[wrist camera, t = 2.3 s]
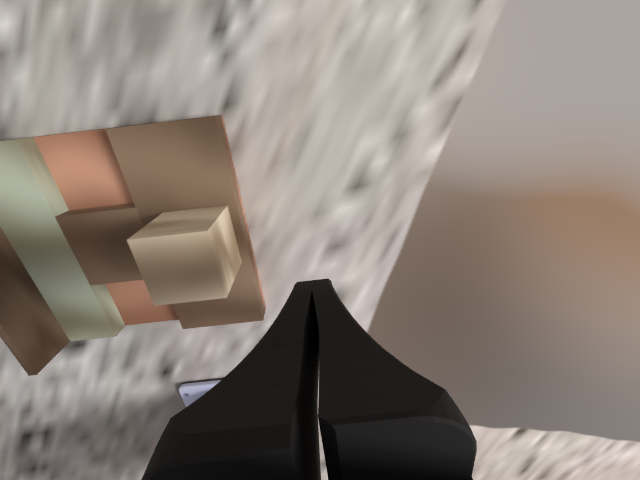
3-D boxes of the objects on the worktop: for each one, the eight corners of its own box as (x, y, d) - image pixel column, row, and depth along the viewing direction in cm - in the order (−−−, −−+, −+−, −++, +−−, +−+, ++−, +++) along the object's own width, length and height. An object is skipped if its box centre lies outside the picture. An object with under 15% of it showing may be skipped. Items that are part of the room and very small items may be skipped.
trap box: (265, 307, 23) (256, 351, 19) (77, 328, 23) (28, 375, 19) (222, 115, 17) (195, 118, 13) (-29, 144, 18) (-132, 157, 13)
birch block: (241, 262, 20) (226, 297, 16) (182, 268, 20) (154, 305, 16) (227, 205, 18) (207, 230, 14) (162, 212, 18) (126, 240, 15)
